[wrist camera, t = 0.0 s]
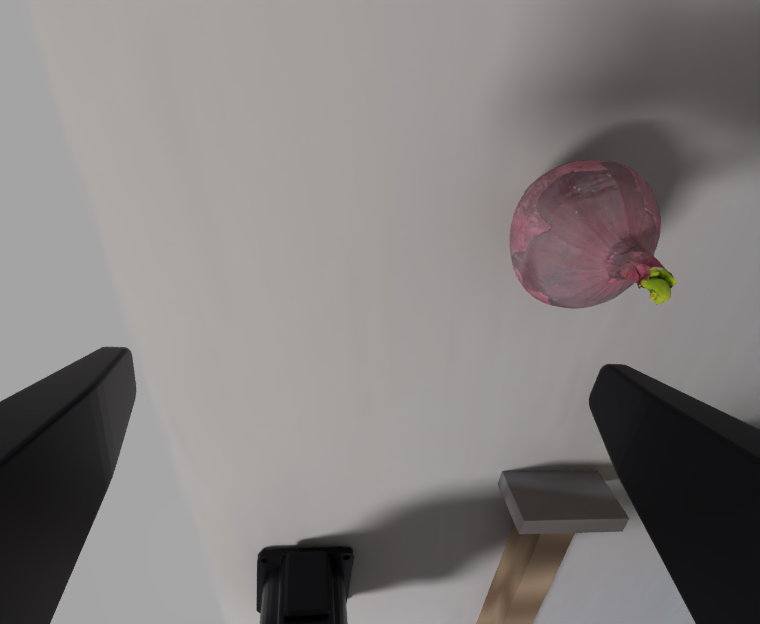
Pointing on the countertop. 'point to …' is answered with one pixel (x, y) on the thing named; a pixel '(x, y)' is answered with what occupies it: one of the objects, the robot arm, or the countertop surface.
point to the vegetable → (588, 236)
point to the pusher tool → (544, 535)
